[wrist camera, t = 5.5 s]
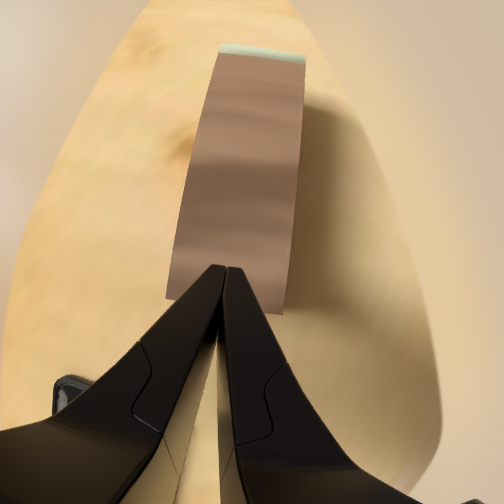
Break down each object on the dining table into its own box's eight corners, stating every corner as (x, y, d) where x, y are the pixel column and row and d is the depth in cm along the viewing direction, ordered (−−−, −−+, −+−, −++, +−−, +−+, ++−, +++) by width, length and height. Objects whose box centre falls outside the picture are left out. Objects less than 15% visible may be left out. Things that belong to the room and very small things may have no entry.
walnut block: (282, 314, 12) (306, 55, 14) (165, 298, 11) (221, 43, 13) (267, 310, 16) (291, 101, 18) (182, 298, 16) (221, 91, 18)
